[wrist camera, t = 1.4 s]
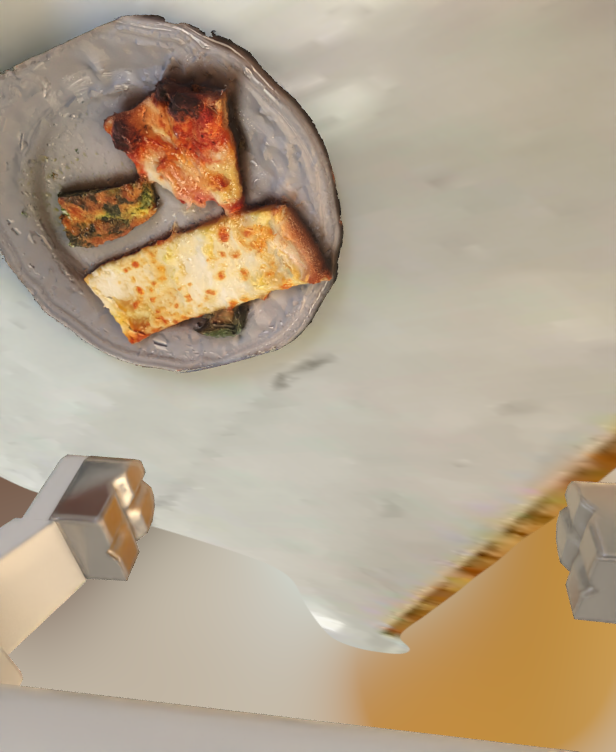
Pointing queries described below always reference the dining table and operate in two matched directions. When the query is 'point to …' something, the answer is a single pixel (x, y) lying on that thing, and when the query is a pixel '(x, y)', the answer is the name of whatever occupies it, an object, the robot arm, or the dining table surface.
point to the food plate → (165, 195)
